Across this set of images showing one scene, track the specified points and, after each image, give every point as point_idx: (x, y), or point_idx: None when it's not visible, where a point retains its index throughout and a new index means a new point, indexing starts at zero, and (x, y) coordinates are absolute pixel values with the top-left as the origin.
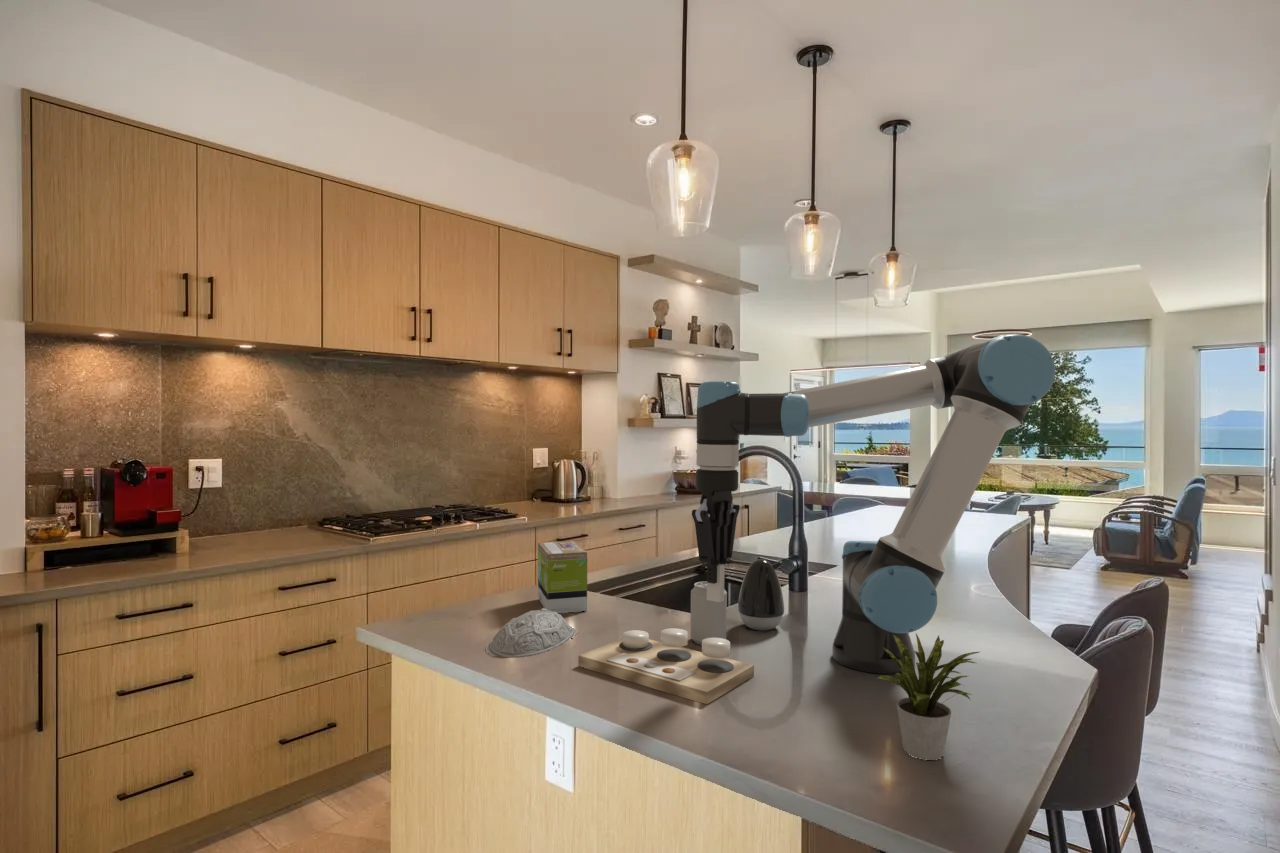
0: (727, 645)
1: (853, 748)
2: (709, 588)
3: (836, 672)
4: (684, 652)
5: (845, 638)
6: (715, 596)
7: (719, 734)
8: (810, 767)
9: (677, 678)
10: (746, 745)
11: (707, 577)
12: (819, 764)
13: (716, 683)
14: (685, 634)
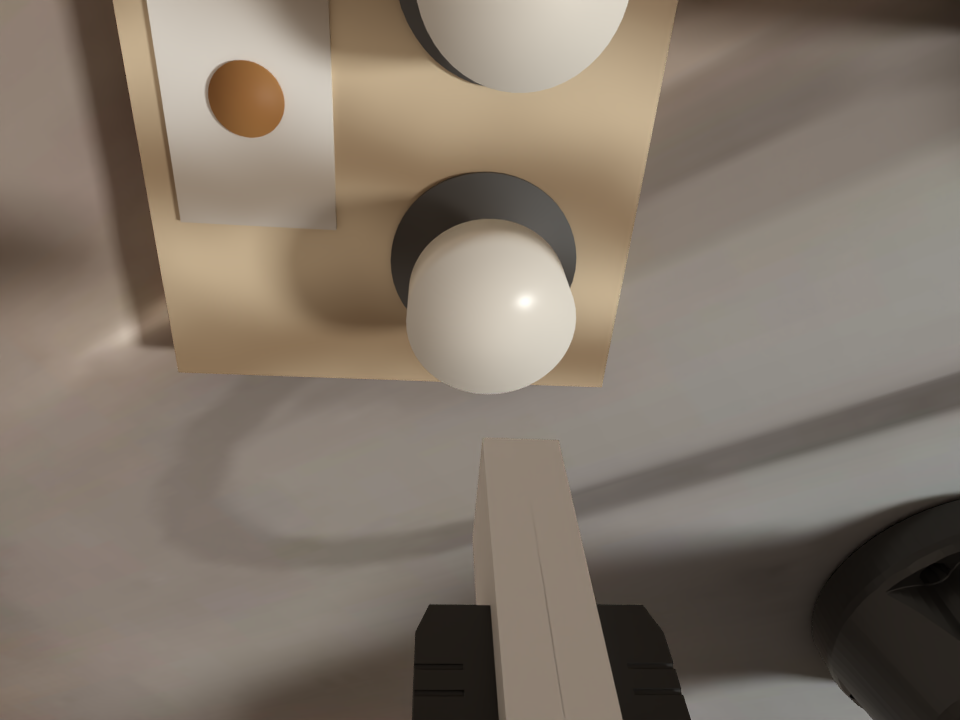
0: (476, 392)
1: (252, 704)
2: (488, 539)
3: (778, 550)
4: None
5: (928, 633)
6: (477, 540)
7: (30, 475)
8: (82, 677)
9: (191, 200)
10: (43, 551)
11: (416, 663)
12: (113, 684)
13: (290, 359)
14: (522, 86)
